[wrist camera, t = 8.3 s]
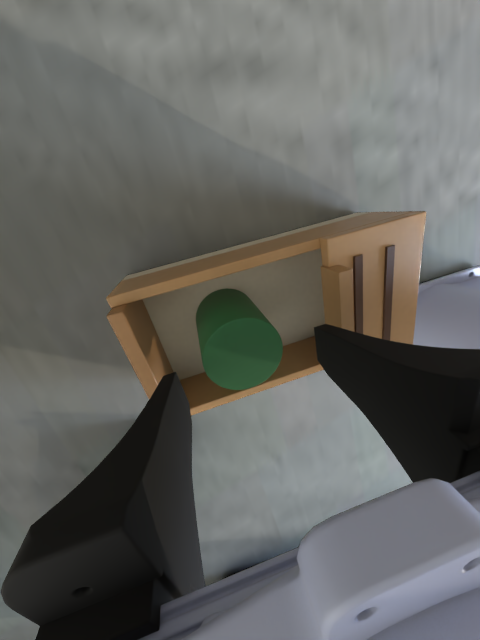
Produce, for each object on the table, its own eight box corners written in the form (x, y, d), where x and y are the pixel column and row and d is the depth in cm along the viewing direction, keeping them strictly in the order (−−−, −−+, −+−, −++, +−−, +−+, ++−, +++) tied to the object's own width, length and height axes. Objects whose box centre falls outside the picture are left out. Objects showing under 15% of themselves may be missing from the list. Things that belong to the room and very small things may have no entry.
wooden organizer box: (357, 212, 19) (448, 210, 12) (359, 316, 22) (429, 356, 16) (125, 275, 17) (92, 312, 10) (170, 378, 20) (166, 450, 14)
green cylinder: (248, 280, 17) (276, 307, 12) (260, 334, 19) (288, 375, 14) (187, 298, 17) (190, 333, 12) (205, 351, 18) (215, 400, 14)
